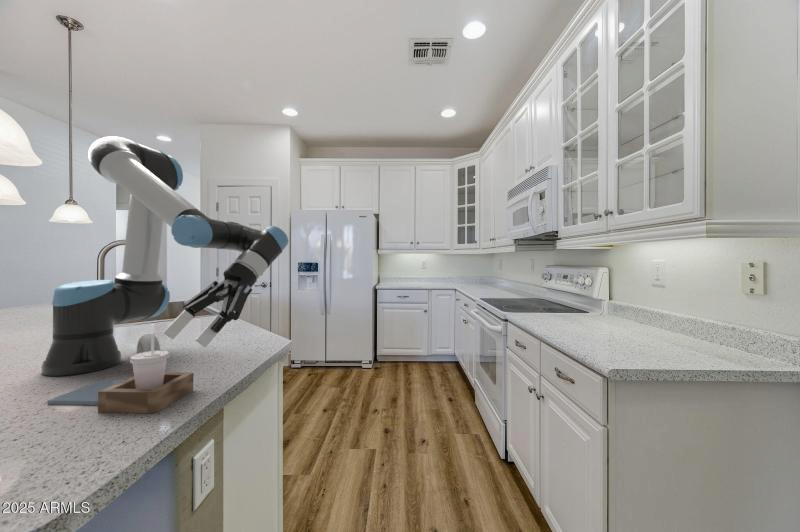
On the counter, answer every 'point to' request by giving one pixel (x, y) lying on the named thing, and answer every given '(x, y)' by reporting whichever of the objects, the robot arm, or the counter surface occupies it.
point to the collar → (144, 395)
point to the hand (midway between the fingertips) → (183, 339)
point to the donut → (147, 344)
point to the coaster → (83, 394)
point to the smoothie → (149, 367)
